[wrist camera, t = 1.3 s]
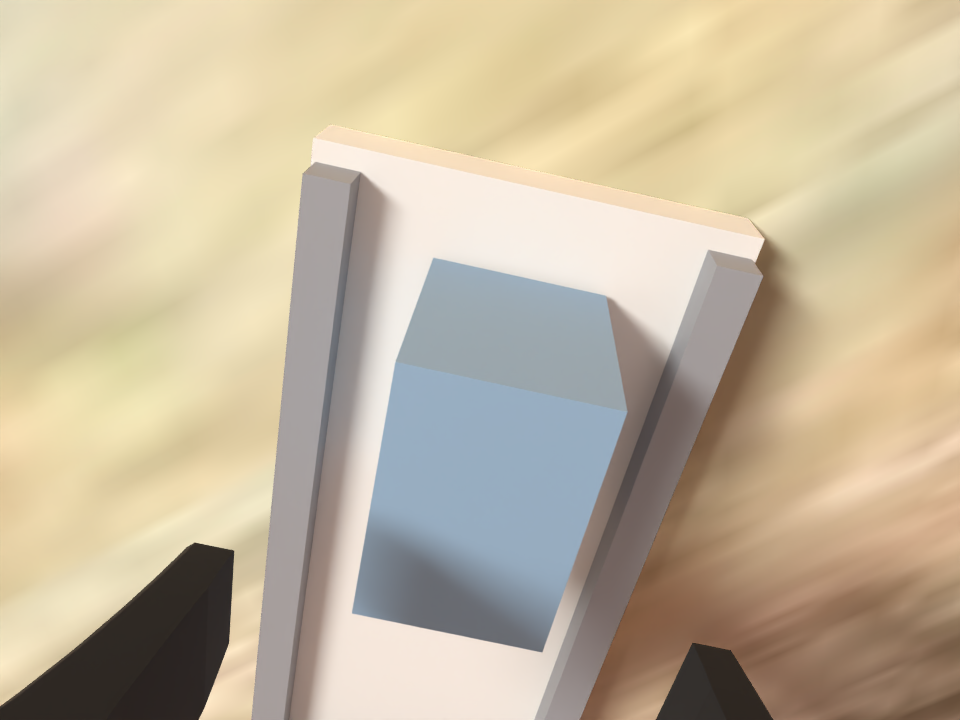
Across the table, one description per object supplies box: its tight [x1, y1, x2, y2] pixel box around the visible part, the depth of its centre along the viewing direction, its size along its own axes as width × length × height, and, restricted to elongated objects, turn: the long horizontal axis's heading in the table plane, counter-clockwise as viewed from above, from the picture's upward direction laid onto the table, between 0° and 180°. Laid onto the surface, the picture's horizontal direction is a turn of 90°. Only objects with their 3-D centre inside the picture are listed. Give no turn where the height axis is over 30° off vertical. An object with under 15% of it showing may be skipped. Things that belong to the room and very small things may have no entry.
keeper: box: [352, 258, 627, 652], centre depth 16 cm, size 4×6×5 cm, turn 169°
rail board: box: [251, 124, 765, 720], centre depth 21 cm, size 10×23×4 cm, turn 168°
